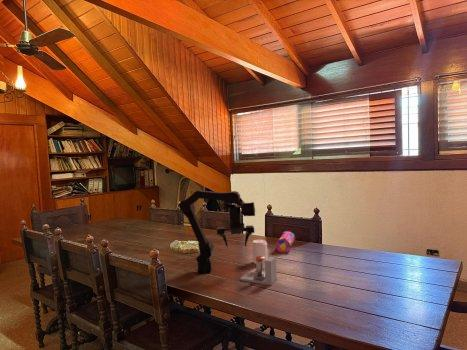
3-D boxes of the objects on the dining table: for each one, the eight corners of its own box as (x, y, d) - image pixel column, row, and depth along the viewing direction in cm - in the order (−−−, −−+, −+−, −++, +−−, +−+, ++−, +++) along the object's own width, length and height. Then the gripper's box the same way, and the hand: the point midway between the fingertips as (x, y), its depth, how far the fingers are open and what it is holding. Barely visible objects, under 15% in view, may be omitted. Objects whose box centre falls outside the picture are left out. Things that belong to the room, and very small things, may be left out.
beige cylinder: (255, 266, 176) (254, 243, 175) (250, 261, 184) (250, 240, 183) (269, 264, 178) (269, 242, 178) (264, 259, 186) (263, 238, 185)
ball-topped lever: (253, 278, 155) (252, 258, 154) (257, 275, 159) (256, 255, 158) (263, 280, 152) (262, 259, 152) (267, 277, 156) (266, 256, 156)
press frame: (240, 280, 157) (239, 257, 157) (255, 268, 172) (254, 248, 171) (271, 285, 149) (270, 261, 149) (284, 273, 164) (284, 251, 163)
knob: (254, 268, 168) (254, 255, 168) (266, 268, 169) (265, 254, 168) (255, 272, 163) (255, 258, 162) (267, 272, 163) (267, 258, 162)
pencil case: (291, 253, 195) (291, 238, 194) (276, 253, 198) (275, 238, 197) (295, 243, 216) (295, 230, 215) (281, 243, 218) (280, 229, 218)
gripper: (215, 220, 159) (217, 252, 160) (254, 218, 159) (256, 250, 160) (216, 216, 170) (218, 246, 171) (252, 214, 170) (254, 244, 171)
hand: (236, 246), depth 168 cm, fingers open, 9 cm apart
